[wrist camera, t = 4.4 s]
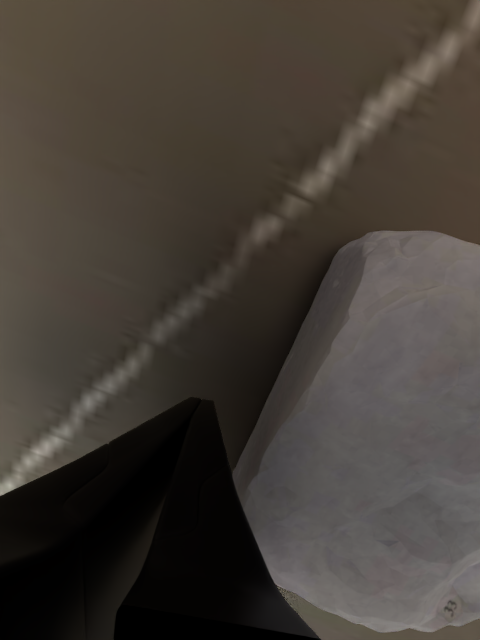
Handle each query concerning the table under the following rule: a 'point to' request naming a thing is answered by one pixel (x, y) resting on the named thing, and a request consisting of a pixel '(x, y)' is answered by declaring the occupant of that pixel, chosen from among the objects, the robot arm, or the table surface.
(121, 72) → the table surface
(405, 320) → the stone block
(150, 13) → the table surface
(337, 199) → the table surface
